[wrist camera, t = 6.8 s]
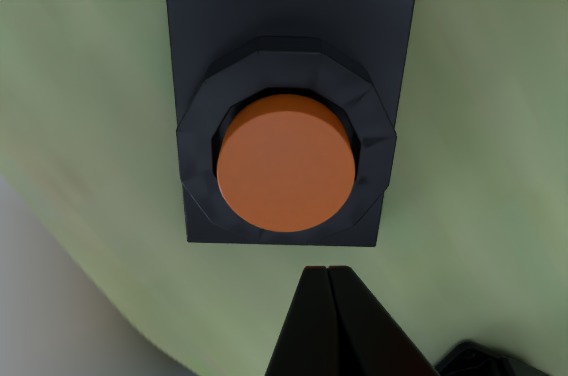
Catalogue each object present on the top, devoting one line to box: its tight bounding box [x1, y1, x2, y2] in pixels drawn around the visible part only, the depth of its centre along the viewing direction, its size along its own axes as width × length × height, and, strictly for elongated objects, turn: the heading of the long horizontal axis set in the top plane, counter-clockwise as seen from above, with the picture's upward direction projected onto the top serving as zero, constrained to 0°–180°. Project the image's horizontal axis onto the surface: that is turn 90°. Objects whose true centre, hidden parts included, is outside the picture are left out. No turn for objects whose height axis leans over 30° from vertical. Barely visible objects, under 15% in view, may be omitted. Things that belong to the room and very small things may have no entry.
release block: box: [166, 0, 415, 247], centre depth 18 cm, size 10×8×3 cm
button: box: [217, 94, 355, 232], centre depth 16 cm, size 4×4×2 cm
